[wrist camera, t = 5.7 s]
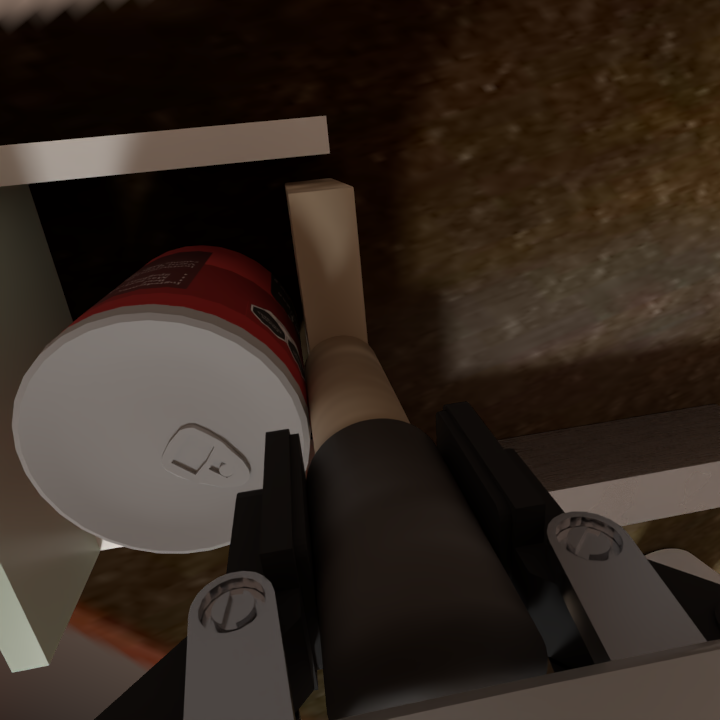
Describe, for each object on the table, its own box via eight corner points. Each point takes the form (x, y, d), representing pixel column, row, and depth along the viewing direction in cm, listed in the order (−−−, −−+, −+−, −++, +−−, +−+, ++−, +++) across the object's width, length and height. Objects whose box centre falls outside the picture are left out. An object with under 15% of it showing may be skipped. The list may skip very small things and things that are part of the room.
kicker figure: (375, 173, 22) (708, 228, 5) (401, 520, 29) (574, 1017, 12) (237, 187, 21) (90, 306, 4) (299, 538, 29) (332, 1089, 12)
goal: (316, 123, 21) (346, 98, 12) (353, 451, 28) (392, 597, 19) (-15, 154, 20) (-260, 152, 11) (103, 493, 26) (12, 672, 17)
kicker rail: (715, 403, 30) (793, 447, 26) (706, 446, 32) (780, 495, 27) (355, 464, 28) (370, 524, 23) (360, 507, 29) (375, 573, 25)
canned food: (274, 413, 26) (271, 575, 16) (111, 374, 24) (-10, 530, 14) (320, 273, 24) (350, 361, 14) (144, 217, 22) (27, 269, 12)
